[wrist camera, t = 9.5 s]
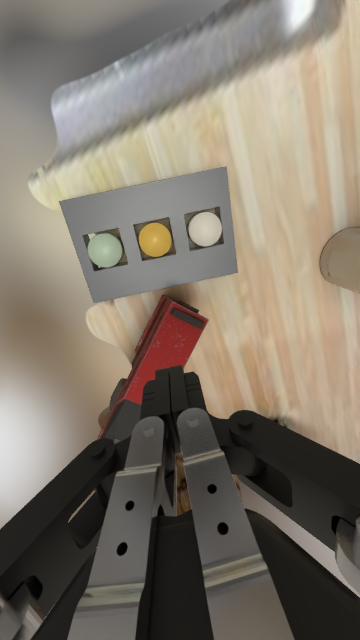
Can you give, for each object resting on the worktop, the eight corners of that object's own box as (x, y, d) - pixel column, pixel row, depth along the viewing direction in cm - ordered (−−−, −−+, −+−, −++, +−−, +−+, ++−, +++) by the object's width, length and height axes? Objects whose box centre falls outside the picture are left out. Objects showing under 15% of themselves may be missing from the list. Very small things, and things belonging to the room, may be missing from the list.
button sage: (119, 229, 36) (115, 230, 33) (127, 260, 38) (124, 263, 35) (89, 236, 36) (82, 237, 33) (99, 266, 38) (93, 270, 35)
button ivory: (214, 209, 36) (219, 208, 33) (218, 241, 38) (223, 242, 35) (184, 216, 36) (187, 215, 33) (189, 247, 38) (192, 249, 35)
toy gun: (104, 404, 47) (92, 461, 32) (160, 291, 45) (175, 298, 31) (130, 413, 48) (131, 473, 34) (186, 304, 47) (212, 317, 32)
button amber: (166, 219, 36) (167, 219, 33) (172, 250, 38) (174, 253, 35) (137, 226, 36) (135, 226, 33) (144, 256, 38) (143, 259, 35)
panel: (221, 170, 35) (226, 166, 32) (232, 269, 40) (237, 272, 38) (66, 202, 35) (58, 201, 32) (98, 297, 40) (93, 303, 37)
